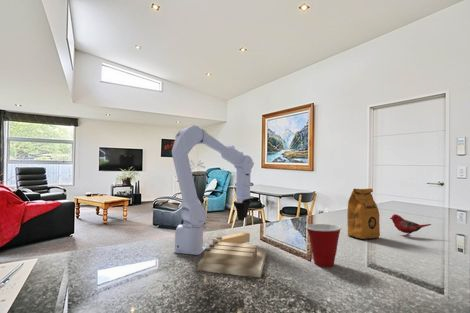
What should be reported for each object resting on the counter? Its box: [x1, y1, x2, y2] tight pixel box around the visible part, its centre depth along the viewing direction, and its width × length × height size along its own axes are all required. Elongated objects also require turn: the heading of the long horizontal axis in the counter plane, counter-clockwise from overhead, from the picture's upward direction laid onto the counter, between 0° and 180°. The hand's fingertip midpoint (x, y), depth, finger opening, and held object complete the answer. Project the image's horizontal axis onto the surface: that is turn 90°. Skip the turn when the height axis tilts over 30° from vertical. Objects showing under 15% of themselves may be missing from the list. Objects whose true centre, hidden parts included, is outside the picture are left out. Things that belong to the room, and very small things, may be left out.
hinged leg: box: [212, 231, 251, 244], centre depth 89 cm, size 15×3×3 cm, turn 132°
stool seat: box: [197, 240, 268, 278], centre depth 78 cm, size 18×19×5 cm
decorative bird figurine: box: [389, 213, 432, 237], centre depth 114 cm, size 3×18×10 cm, turn 82°
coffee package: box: [346, 187, 381, 240], centre depth 112 cm, size 10×12×22 cm
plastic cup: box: [305, 223, 342, 268], centre depth 78 cm, size 11×11×12 cm
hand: (242, 218), depth 100 cm, fingers open, 5 cm apart
